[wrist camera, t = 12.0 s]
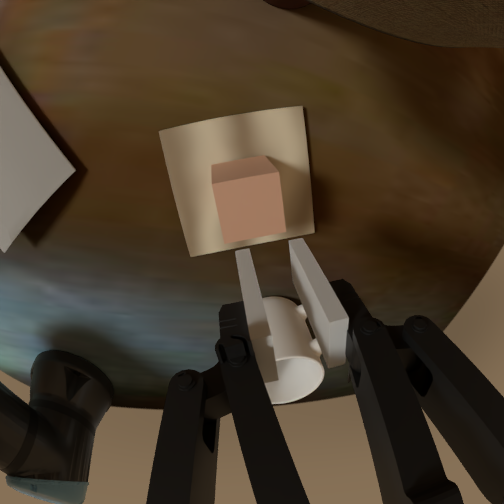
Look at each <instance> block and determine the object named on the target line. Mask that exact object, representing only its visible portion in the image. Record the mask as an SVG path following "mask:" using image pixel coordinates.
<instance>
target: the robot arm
mask: <svg viewBox="0 0 504 504" xmlns="http://www.w3.org/2000/svg"><path fill="white" fill-rule="evenodd" d="M289 248H290V257H291V267H292V278H293V284H294V286H295V288H296V291H297V293H298V295H299V298H300V300H301V303H302V305H303V308H304V310H305V312H306V315H307V317H308V320H309V322H310V324H311V327H312V329H313V332H314V334H315V337H316V339H317V342H318V344H319V347H320V349H321V352H322V354H323V357H324V359H325V362H326V364H327V367H328V368H332V367H335V366H339V365H343V364H345V359H346V357H347V359H348V361H349V372H348V383H349V382H350V381H351V380H352V384H353V387H354V391H355V394H356V398H357V401H358V405H359V408H360V412H361V416H362V419H363V423H364V427H365V430H366V434H367V438H368V442H369V446H370V449H371V454H372V458H373V462H374V466H375V470H376V475H377V478H378V483H379V487H380V492H381V496H382V501H383V504H464V503H463V500H462V496H461V493H460V491H459V488H458V486H457V485H456V484H455V483H454V482H452V481H450V480H448V479H447V477H446V475H445V472H444V469H443V466H442V463H441V460H440V457H439V454H438V451H437V448H436V445H435V443H434V440H433V438H432V435H431V432H430V429H429V427H428V424H427V421H426V419H425V416H424V414H423V411H422V409H423V410H424V411H425V413H426V414H427V416H428V417H429V418H430V420H431V421H432V422H433V424H434V425H435V426H436V428H437V429H438V431H439V432H440V433H441V435H442V436H443V438H444V439H445V440H446V442H447V443H448V445H449V446H450V447H451V449H452V450H453V452H454V453H455V455H456V456H457V457H458V459H459V460H460V462H461V463H462V465H463V466H464V467H465V469H466V470H467V472H468V473H469V475H470V476H471V478H472V479H473V480H474V482H475V484H476V485H477V487H478V488H479V490H480V491H481V492H482V494H483V495H484V496H485V497H486V499H487V500H488V501H490V502H491V503H492V504H504V397H503V396H502V395H501V394H500V393H499V392H498V391H497V389H495V387H494V386H493V385H492V384H491V383H490V381H489V380H488V379H487V378H486V377H485V376H484V375H483V374H482V373H481V372H480V370H479V369H478V368H477V367H476V366H475V365H474V364H473V363H472V362H471V361H470V360H469V359H468V358H467V357H466V355H465V354H464V353H463V352H462V351H461V350H460V349H459V348H458V347H457V346H456V345H455V344H454V343H453V342H452V341H451V340H450V339H449V338H448V337H447V336H446V335H445V334H444V333H443V332H442V331H441V330H440V329H439V328H438V327H437V326H436V325H435V324H434V323H433V322H432V321H431V320H430V319H428V318H427V317H424V316H421V315H415V316H411V317H409V318H408V319H406V321H405V323H404V325H400V326H387V325H384V324H383V323H382V321H380V320H378V319H376V318H373V317H372V316H371V314H370V313H369V311H368V310H367V308H366V307H365V305H364V304H363V302H362V301H361V299H360V298H359V296H358V294H357V293H356V292H355V290H354V288H353V287H352V285H351V284H350V283H348V282H347V281H345V280H344V279H340V280H336V281H332V282H328V280H327V278H326V277H325V275H324V273H323V272H322V270H321V268H320V266H319V265H318V263H317V261H316V260H315V258H314V256H313V255H312V253H311V251H310V250H309V248H308V246H307V245H306V243H305V241H304V240H303V238H300V239H295V240H289ZM235 254H236V260H237V266H238V272H239V278H240V283H241V289H242V295H243V301H241V302H236V303H231V304H225V305H222V307H221V309H220V311H219V322H220V323H219V324H220V339H219V340H218V341H217V343H216V345H215V351H216V354H217V357H218V360H219V362H218V363H217V364H216V365H215V366H214V367H212V368H210V369H209V370H206V371H204V372H202V373H199V372H197V371H195V370H189V369H188V370H183V371H180V372H178V373H176V374H175V375H174V376H173V377H172V379H171V381H170V383H169V387H168V392H167V396H166V401H165V406H164V410H163V415H162V421H161V425H160V430H159V435H158V440H157V445H156V451H155V457H154V461H153V467H152V472H151V478H150V484H149V490H148V496H147V502H146V504H214V501H215V483H216V469H217V455H218V439H219V427H220V418H221V417H223V416H225V415H227V414H229V413H232V415H233V420H234V423H235V427H236V431H237V435H238V438H239V443H240V446H241V450H242V454H243V457H244V461H245V465H246V468H247V471H248V475H249V479H250V482H251V485H252V489H253V492H254V495H255V499H256V502H257V504H310V503H309V500H308V498H307V495H306V493H305V490H304V488H303V486H302V483H301V480H300V477H299V475H298V472H297V470H296V467H295V465H294V462H293V459H292V457H291V454H290V451H289V449H288V446H287V444H286V441H285V438H284V436H283V433H282V431H281V427H280V425H279V422H278V419H277V417H276V414H275V411H274V408H273V406H272V403H271V400H270V397H269V395H268V392H267V389H266V386H265V383H268V382H273V381H278V380H279V379H278V373H277V366H276V360H275V354H274V347H273V341H272V335H271V331H270V327H269V324H268V320H267V316H266V312H265V308H264V304H263V300H262V296H261V292H260V289H259V285H258V281H257V277H256V273H255V269H254V265H253V261H252V257H251V253H250V250H249V249H244V250H238V251H235ZM112 398H113V387H112V384H111V382H110V381H109V379H108V378H107V377H106V376H105V374H104V373H103V372H101V371H100V370H99V369H98V368H97V367H95V366H94V365H93V364H91V363H89V362H88V361H86V360H84V359H82V358H80V357H78V356H75V355H73V354H70V353H66V352H62V351H45V352H42V353H40V354H39V355H38V356H37V357H36V359H35V361H34V363H33V365H32V368H31V387H30V402H29V405H28V404H27V403H25V402H24V401H23V400H22V399H20V398H19V397H18V396H17V395H15V394H14V393H13V392H12V391H11V390H9V389H8V388H7V387H6V386H5V385H4V384H2V383H1V382H0V470H1V471H3V472H4V473H6V474H7V476H6V482H7V484H8V486H10V487H12V488H13V489H15V490H16V491H19V492H21V493H23V494H26V495H29V496H31V497H34V498H37V499H40V500H44V501H47V502H51V503H55V504H82V503H83V502H84V500H85V495H86V491H87V486H88V485H89V483H88V476H89V469H90V462H91V455H92V448H93V443H94V436H95V431H96V428H97V426H98V425H99V423H100V421H101V420H102V418H103V416H104V414H105V412H107V411H108V409H109V408H110V406H111V403H112ZM421 407H422V409H421Z"/></svg>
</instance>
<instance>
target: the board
mask: <svg viewBox="0 0 504 504" xmlns="http://www.w3.org/2000/svg"><path fill="white" fill-rule="evenodd" d="M159 135H160V139H161V143H162V148H163V152H164V157H165V161H166V165H167V169H168V173H169V177H170V182H171V186H172V190H173V194H174V197H175V201H176V205H177V209H178V213H179V217H180V220H181V224H182V228H183V232H184V235H185V239H186V242H187V246H188V250H189V253H190V257H194V256H199V255H204V254H209V253H214V252H219V251H224V250H229V249H234V248H239V247H244V246H249V245H254V244H259V243H264V242H270V241H275V240H280V239H285V238H290V237H295V236H300V235H306V234H311V233H315V232H314V218H313V204H312V192H311V180H310V170H309V159H308V150H307V140H306V132H305V123H304V115H303V107H302V106H294V107H285V108H277V109H270V110H262V111H255V112H249V113H243V114H237V115H231V116H225V117H220V118H214V119H209V120H204V121H200V122H195V123H190V124H186V125H181V126H177V127H173V128H169V129H164V130H161V131H159ZM262 155H265V156H266V158H267V159H268V160H269V161H270V162H271V163H272V164H273V166H274V167H275V168H276V169H277V170H278V171H279V176H280V184H281V192H282V200H283V208H284V217H285V226H286V232H283V233H278V234H273V235H268V236H263V237H258V238H252V239H247V240H242V241H237V242H232V243H227V244H224V240H223V235H222V231H221V226H220V221H219V217H218V212H217V207H216V203H215V198H214V193H213V188H212V178H211V165H213V164H218V163H223V162H228V161H233V160H239V159H244V158H250V157H256V156H262Z"/></svg>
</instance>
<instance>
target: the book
mask: <svg viewBox="0 0 504 504" xmlns="http://www.w3.org/2000/svg"><path fill="white" fill-rule="evenodd" d="M75 171H76V169H75V168H74V167H73V166H72V164H71V163H70V162H69V161H68V159H67V158H66V157H65V155H64V154H63V153H62V152H61V150H60V149H59V148H58V147H57V145H56V144H55V143H54V141H53V140H52V139H51V137H50V136H49V135H48V133H47V132H46V131H45V129H44V128H43V127H42V125H41V124H40V123H39V121H38V120H37V119H36V117H35V116H34V114H33V113H32V112H31V110H30V109H29V107H28V106H27V105H26V103H25V102H24V100H23V99H22V98H21V96H20V95H19V93H18V92H17V90H16V89H15V87H14V86H13V84H12V83H11V81H10V80H9V78H8V77H7V75H6V74H5V72H4V71H3V69H2V68H1V66H0V249H1V250H2V251H3V252H4V253H5V252H6V250H7V249H8V247H9V246H10V245H11V243H12V242H13V241H14V239H15V238H16V237H17V235H18V234H19V233H20V232H21V230H22V229H23V228H24V227H25V225H26V224H27V223H28V222H29V220H30V219H31V218H32V217H33V216H34V214H35V213H36V212H37V211H38V210H39V209H40V207H41V206H42V205H43V204H44V203H45V202H46V201H47V200H48V198H49V197H50V196H51V195H52V194H53V193H54V192H55V191H56V190H57V189H58V188H59V187H60V186H61V185H62V184H63V183H64V182H65V181H66V180H67V179H68V178H69V177H70V176H71V175H72V174H73V173H74V172H75Z"/></svg>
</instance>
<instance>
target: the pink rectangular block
mask: <svg viewBox="0 0 504 504" xmlns="http://www.w3.org/2000/svg"><path fill="white" fill-rule="evenodd" d="M211 178H212V188H213V193H214V198H215V203H216V207H217V212H218V217H219V221H220V226H221V231H222V235H223V240H224V244H227V243H232V242H237V241H242V240H247V239H252V238H258V237H263V236H268V235H273V234H278V233H283V232H286V226H285V217H284V208H283V200H282V192H281V184H280V176H279V171H278V170H277V169H276V168H275V167H274V166H273V164H272V163H271V162H270V161H269V160H268V159H267V158H266V156H265V155H262V156H256V157H250V158H244V159H239V160H233V161H228V162H223V163H218V164H213V165H211Z"/></svg>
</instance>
